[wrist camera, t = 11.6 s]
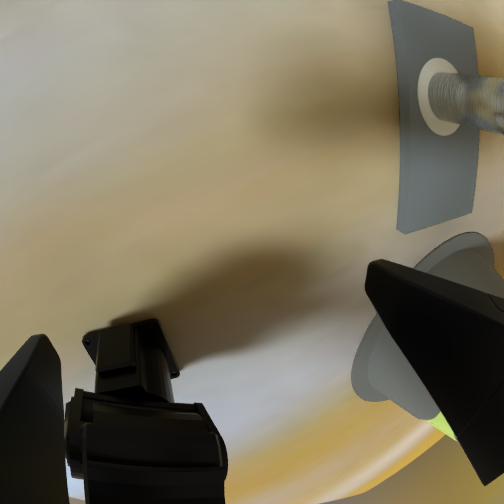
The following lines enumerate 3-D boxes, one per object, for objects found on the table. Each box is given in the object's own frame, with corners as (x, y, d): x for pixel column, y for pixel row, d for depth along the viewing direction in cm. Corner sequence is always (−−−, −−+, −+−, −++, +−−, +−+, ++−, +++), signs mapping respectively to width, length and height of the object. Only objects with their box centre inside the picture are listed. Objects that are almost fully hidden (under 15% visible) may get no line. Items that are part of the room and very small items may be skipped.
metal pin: (454, 126, 21) (570, 163, 11) (425, 113, 20) (558, 148, 10) (459, 82, 20) (575, 105, 9) (430, 64, 18) (562, 81, 8)
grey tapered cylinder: (365, 266, 27) (565, 460, 6) (507, 215, 33) (630, 295, 12) (339, 423, 40) (418, 545, 19) (462, 353, 46) (539, 431, 25)
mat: (464, 208, 28) (472, 213, 27) (396, 229, 26) (405, 234, 25) (463, 27, 19) (473, 27, 17) (387, 1, 16) (398, -1, 15)
